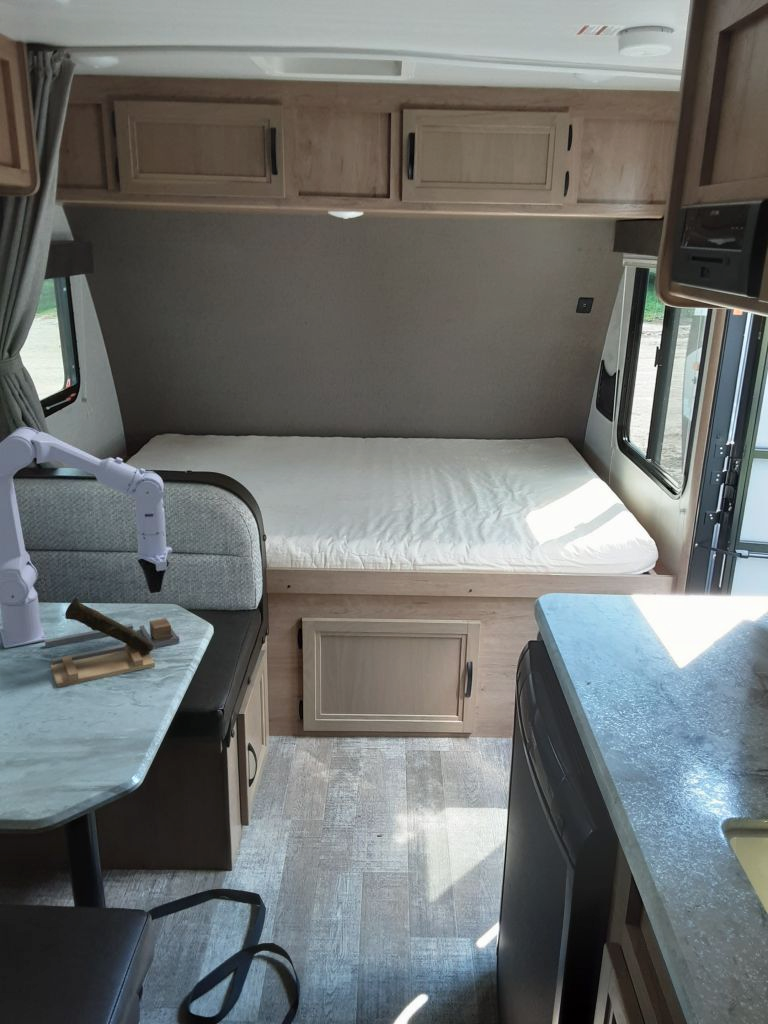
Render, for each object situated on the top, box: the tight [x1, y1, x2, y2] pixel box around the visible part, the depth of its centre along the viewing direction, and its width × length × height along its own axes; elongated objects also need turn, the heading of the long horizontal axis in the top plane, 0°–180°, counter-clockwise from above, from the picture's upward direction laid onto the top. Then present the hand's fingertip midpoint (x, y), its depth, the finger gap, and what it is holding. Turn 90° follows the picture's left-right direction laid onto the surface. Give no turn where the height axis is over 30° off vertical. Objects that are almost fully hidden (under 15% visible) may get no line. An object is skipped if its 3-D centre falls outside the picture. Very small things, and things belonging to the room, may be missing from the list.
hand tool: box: [64, 597, 154, 653], centre depth 158 cm, size 19×4×5 cm
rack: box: [50, 645, 156, 688], centre depth 156 cm, size 8×18×2 cm, turn 120°
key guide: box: [139, 625, 181, 649], centre depth 170 cm, size 10×6×1 cm, turn 30°
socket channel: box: [44, 623, 134, 665], centre depth 165 cm, size 10×18×1 cm, turn 120°
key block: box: [149, 617, 172, 641], centre depth 169 cm, size 4×3×4 cm
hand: (155, 591), depth 171 cm, fingers closed
